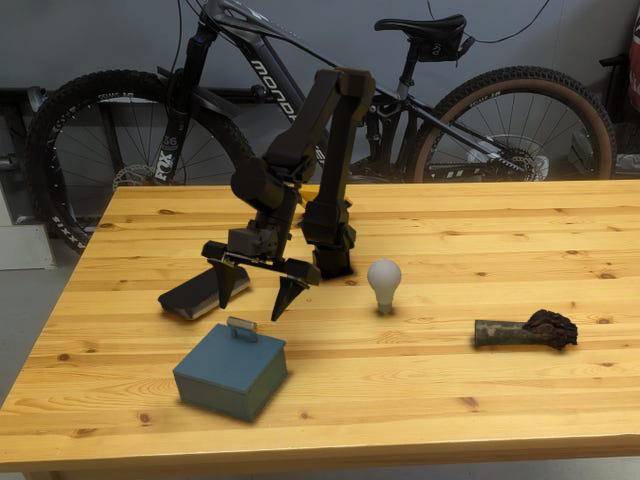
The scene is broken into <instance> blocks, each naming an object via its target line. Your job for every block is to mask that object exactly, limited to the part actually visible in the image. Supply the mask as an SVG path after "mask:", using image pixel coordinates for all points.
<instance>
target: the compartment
mask: <svg viewBox="0 0 640 480" xmlns="http://www.w3.org/2000/svg"><path fill="white" fill-rule="evenodd" d="M288 374H289V372H288V365H287V360H286V352H285V347H284V348H283V349H282V350H281V351H280V353H279V354H278V355H277V356H276V358H275V359H274V360H273V361H272V363H271V364H270V365H269V366H268V368H267V369H266V370H265V371H264V373H263V374H262V375H261V376H260V378H259V379H258V380H257V381H256V383H255V384H254V385H253V386H252V388H251V389H250V390H249V391H248V393H247V394H246V395H245V394H241V393H238V392H234V391H231V390H227V389H224V388H220V387H217V386H213V385H210V384H206V383H203V382H199V381H196V380H192V379H189V378H185V377H181V376H178V375H174V374H173V379H174V382H175V385H176V388H177V391H178V395H179V397H180V401H181V402H182V403H185V404H189V405H191V406H196V407H199V408H202V409H206V410H209V411H213V412H215V413H219V414H223V415H226V416H229V417H233V418H236V419H238V420H243V421H247V422H250V423H253V421H254V420H255V418H256V417H257V416H258V414H260V412H261V410H262V409H263V408H264V406H265V405H266V403H268V401H269V400H270V399H271V397H272V396H273V394H274V393H275V392H276V390H278V388H279V387H280V385H281V384H282V382H283V381H284V380H285V379H286V377H287V376H288Z"/></svg>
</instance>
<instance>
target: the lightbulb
mask: <svg viewBox="0 0 640 480" xmlns="http://www.w3.org/2000/svg"><path fill="white" fill-rule="evenodd" d="M366 278H367V282H368V284H369V286H370V288H371V289H372V290H373V292H374V295H375V300H376V302H377V309H378V311H379V312H381V313H384V314H385V313H389V312H390V311H391V310H392V309H393V308H392V307H393V301H394V297H395V296H394V295H395V292H396V290H397V289H398V288H399V285H400V284H401V281H402V271H401V267H400V266H399V265H398V264H397V263H396V262H395V261H394V260H392V259H389V258H380V259H377V260H375V261H373V262H372V263H371V264H370V266H369V267H368V270H367V273H366Z"/></svg>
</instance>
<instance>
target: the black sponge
mask: <svg viewBox="0 0 640 480" xmlns="http://www.w3.org/2000/svg"><path fill="white" fill-rule="evenodd" d="M233 268H235V269H237V270H239V271H240V272H239V274H238V277H237V280H236V283H235V285H234V288H233V291H232V294H231V297H230V298H232V297H234V296H236V295H237V294H239V293H240V292H241V291H243V290H245V289H246V288H248V287H249V286H250V283H251V278H250V276H249V273H248V271H247V269H246V268H245V267H243V266H241V265H238V266H236V267H233ZM157 302H158V303H159V304H160V307H161V309H162V310H164V311H166V312H167V313H171V314H174V315H176V316H178V317H179V318H180V319H182V320H188V321H189V320H190V321H192V320H195V319H197V318H199V317H200V316H202V315H205V314H206V313H208V312H209V311H210V310H212V309H214V308H215V307H217V306H219V294H218V282H217V277H216V272H215V270H214V268H213V266H212V267H210V268H208V269H206V270H205V271H203V272H201V273H199V274H197V275H195V276H194V277H192V278H190V279H187V280H186V281H184V282H182V283H181V284H179V285H177V286H176V287H174V288H172V289H170V290H168V291H166V292H164V293H162V294H160V295H159V296H158V297H157Z"/></svg>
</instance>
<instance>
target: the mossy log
mask: <svg viewBox="0 0 640 480" xmlns="http://www.w3.org/2000/svg"><path fill="white" fill-rule="evenodd" d="M578 328H579V327H578V326H577V324H576V323H573V322H572V321H571V319H570V318H569V317H567V316H564V315H563V314H561V313H559V312H555V311H552V310H549V309H548V310H547V309H545V308H541V309H538V310H537V311H535V312H534V313H532V315H531V316H530V317H529V318H528V319H527V321H515V320H514V321H513V320H497V319H474V335H473V337H474V338H473V341H474V347H491V346H492V347H493V346H496V347H497V346H543V347H544V346H546V347H549V348H552V349H554V350H557V351H559V352H561V351H562V349H565V348H566V346H567V345H571V346H573V347H576V346H578V345H579V344H578V337H579V332H578V331H579V330H578Z"/></svg>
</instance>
